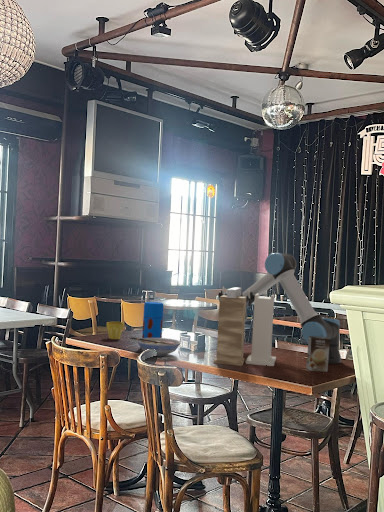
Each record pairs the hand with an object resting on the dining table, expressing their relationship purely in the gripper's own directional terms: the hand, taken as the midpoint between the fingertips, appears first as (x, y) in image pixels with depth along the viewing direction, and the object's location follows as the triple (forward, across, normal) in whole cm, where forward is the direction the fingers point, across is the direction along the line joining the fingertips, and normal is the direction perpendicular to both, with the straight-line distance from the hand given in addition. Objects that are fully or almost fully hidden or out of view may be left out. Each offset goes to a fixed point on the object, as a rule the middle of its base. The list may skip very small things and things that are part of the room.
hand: (235, 289), depth 297 cm
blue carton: (-28, +47, -26) cm, 61 cm away
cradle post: (-17, -15, -32) cm, 39 cm away
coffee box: (-9, -43, -37) cm, 58 cm away
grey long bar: (+6, 0, -7) cm, 9 cm away
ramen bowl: (-10, +37, -36) cm, 53 cm away
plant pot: (-46, +76, -16) cm, 90 cm away
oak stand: (-8, 0, -37) cm, 38 cm away
